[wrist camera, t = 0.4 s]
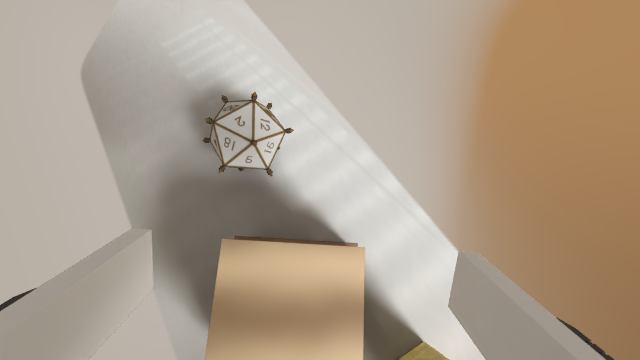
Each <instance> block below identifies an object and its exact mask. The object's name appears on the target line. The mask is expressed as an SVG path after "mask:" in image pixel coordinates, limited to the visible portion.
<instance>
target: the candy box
mask: <svg viewBox="0 0 640 360" xmlns="http://www.w3.org/2000/svg"><path fill="white" fill-rule="evenodd" d="M399 360H449V359H447V358H446V357H445V356H443V355H442V354H440V353H439V352H438V351H436V350H435V349H434V348H432V347H431V346H430V345H428V344H427V343H426V342H422V343H421V344H420V345H418V346H417V347H415V348H414V349H413V350H411V351H410V352H409V353H407V354H406V355H404V356H403V357H401V358H400V359H399Z"/></svg>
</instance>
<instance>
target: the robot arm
mask: <svg viewBox="0 0 640 360" xmlns="http://www.w3.org/2000/svg"><path fill="white" fill-rule="evenodd" d="M153 289H154V280H153V254H152V229H139V228H132V229H131V230H129V231H128V232H126V233H124V234H123V235H121V236H120V237H118V238H116V239H115V240H113V241H111V242H110V243H108V244H107V245H105V246H103V247H102V248H100V249H99V250H97V251H96V252H94V253H92V254H91V255H89V256H88V257H86V258H84V259H83V260H81V261H80V262H78V263H76V264H75V265H73V266H72V267H70V268H68V269H67V270H65V271H64V272H62V273H60V274H59V275H57V276H56V277H54V278H52V279H51V280H49V281H48V282H46V283H45V284H43V285H41V286H40V287H38V288H35V289H32V290H30V291H27V292H25V293H22V294H20V295H18V296H15V297H13V298H11V299H9V300H8V301H6V302H4V303H3V304H1V305H0V360H89V359H90V357H92V355H93V354H94V353H95V352H96V351H97V350H98V349H99V348H100V347H101V346H102V344H103V343H104V342H105V341H106V340H107V339H108V338H109V337H110V336H111V335H112V334H113V333H114V331H115V330H116V329H117V328H118V327H119V326H120V325H121V324H122V323H123V321H125V320H126V318H127V317H128V316H129V315H130V314H131V313H132V312H133V311H134V310H135V309H136V308H137V306H138V305H139V304H140V303H141V302H142V301H143V300H144V299H145V298H146V297H147V296H148V294H149V293H150V292H151V291H152V290H153ZM448 307H449V308H450V310H451V311H452V312H453V314H454V315H455V317H456V318H457V320H458V321H459V322H460V324H461V325H462V327H463V328H464V329H465V331H466V332H467V334H468V335H469V337H470V338H471V339H472V341H473V342H474V344H475V345H476V346H477V348H478V349H479V351H480V352H481V354H482V355H483V356H484V358H485V359H486V360H614V359H613V358H612V357H610V356H609V355H606V354H605V352H604V351H603V350H602V349H600V348H599V347H598V346H597V345H596V344H592V342H591V340H589V339H588V338H587V337H586V336H584V335H583V334H582V333H581V332H579V331H578V330H577V329H576V328H574V327H572V326H571V325H569V324H567V323H565V322H564V321H562V320H560V319H558V318H556V317H554V316H553V315H552V314H551V313H549V312H548V311H547V310H546V309H545V308H543V307H542V306H541V305H540V304H539V303H538V302H536V301H535V300H534V299H533V298H532V297H530V296H529V295H528V294H527V293H526V292H524V291H523V290H522V289H521V288H520V287H518V286H517V285H516V284H515V283H514V282H512V281H511V280H510V279H509V278H508V277H506V276H505V275H504V274H503V273H502V272H500V271H499V270H498V269H497V268H496V267H494V266H493V265H492V264H491V263H490V262H488V261H487V260H486V259H485V258H484V257H482V256H481V255H480V254H479V253H478V252H477V251H466V250H459V252H458V258H457V263H456V268H455V273H454V278H453V284H452V289H451V294H450V299H449V304H448Z"/></svg>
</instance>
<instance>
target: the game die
mask: <svg viewBox="0 0 640 360" xmlns="http://www.w3.org/2000/svg"><path fill="white" fill-rule="evenodd" d="M251 98H252V100H243V101H230V102H228V99H227V98H226V97H225V96H223V95H222V100H223V102H225V104H224V106H223V107H222V109H221V110H220V112H219V113H218V115H217V116H216V117H215V119H214V120H212V118H210V117H209V118H206V119H205V120H206V122H207V123H209V124H212V128H211V135H210V138H205V139H204V140H203V141H204V142H206V143H207V142H208V143H209V142H211V143H212V145H213V147H214V149H215V151H216V153H217V154H218V156H219V158H220V160H221V162H222V164H223V165H222V166H220V168H219V173H220V172H224V170H225V167H235V168H239V170H240V171H242V170H244V169H243V168H249V169H264V170H267V173H268V175H271V176H272V171H271V170H270V169H269V167H270V165H271V163H272V161H273V159H274V156H275V154H276V152H277V150H278V149H280V147H279V146H280V143H281V141H282V139H283V137H284V135H285V133H291V132H292V131H294V130H293V129H291V128H287V129H284V128H283V126H282V125H281V124H280V123H279V121H278V120H277V119H276V118H275V116H274V115H273V114H272V112H271V111H270V110H269V109H271V107H272V103H268V105H267V106H266V107H265V106H263V105H262V104H260V103H258V102H257V101H255V100H256V99H257V95H256V92H255V93H253V94H252V97H251Z"/></svg>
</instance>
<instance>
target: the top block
mask: <svg viewBox="0 0 640 360" xmlns="http://www.w3.org/2000/svg"><path fill="white" fill-rule="evenodd" d="M364 275H365V247H349V246H333V245H316V244H300V243H283V242H267V241H250V240H234V239H222V242H221V249H220V256H219V263H218V270H217V277H216V284H215V291H214V298H213V305H212V312H211V319H210V326H209V333H208V340H207V347H206V354H205V360H363V334H364Z"/></svg>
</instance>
